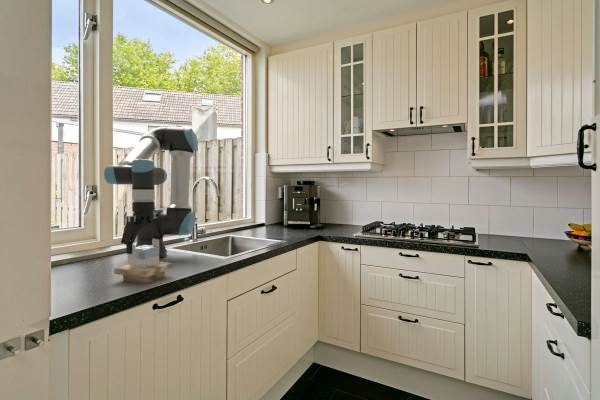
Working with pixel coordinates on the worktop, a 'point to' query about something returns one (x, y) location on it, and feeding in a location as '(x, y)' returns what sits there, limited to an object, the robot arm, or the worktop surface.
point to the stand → (143, 273)
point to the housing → (146, 256)
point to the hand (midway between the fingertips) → (144, 258)
